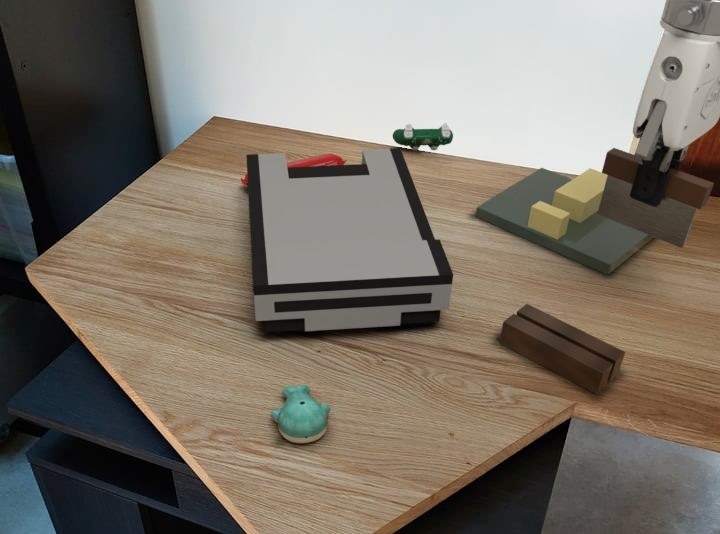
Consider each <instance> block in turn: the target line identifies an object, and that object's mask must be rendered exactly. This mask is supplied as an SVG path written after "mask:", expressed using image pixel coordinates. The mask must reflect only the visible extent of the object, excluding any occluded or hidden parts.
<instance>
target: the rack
mask: <svg viewBox="0 0 720 534" xmlns="http://www.w3.org/2000/svg"><path fill="white" fill-rule="evenodd" d="M501 327H502V328H501V332H500V337H499V342H498V343H499V344H500V345H503V346H504V347H506V348H508V349H510V350H512V351H513V352H515V353H517V354H519V355H521V356H523V357H524V358H527V359H528V360H530V361H532V362H534V363H535V364H538V365H540V366H541V367H544V368H545V369H547V370H549V371H550V372H553V373H554V374H557V375H559V376H561V377H562V378H564V379H566V380H568V381H570V382H572V383H573V384H575V385H577V386H579V387H581V388H583V389H585V390H586V391H589V392H590V393H592V394H594V395H597V394H598V393H600V392H602V391H601V390H603V389H604V388H605V387H606V386H607V383H610V382H611V381H612V380H613V379H615V377H616V376H617V375H618V374H619V372H620V369H621V366H622V365H623V361H624V358H625V355H626V351H625V350H622V349H620V348H619V347H616V346H614V345H612V344H610V343H608V342H606V341H604V340H602V339H600V338H598V337H596V336H594V335H591V334H590V333H588V332H586V331H583V330H581V329H579V328H577V327H576V326H573V325H571V324H569V323H567V322H566V321H563V320H561V319H559V318H557V317H555V316H553V315H551V314H549V313H547V312H545V311H543V310H541V309H539V308H537V307H535V306H532V305H531V304H528V303H526V304H525V305H523V306H522V307H520V308H519V309H518V310H517V311H516V314H515V313H513V314H511V315H510V316H509V317H508V318H506V319H505V320H503V322H502V326H501Z"/></svg>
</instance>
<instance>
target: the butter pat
mask: <svg viewBox="0 0 720 534" xmlns="http://www.w3.org/2000/svg"><path fill="white" fill-rule="evenodd" d="M569 217H570V213H568V212H566V211H564V210H561V209H559V208H556V207H554V206H551V205H549V204H546V203H544V202H542V201H539V202H537V203H536V204H534V205H533V206H531V211H530V216H529V221H528V226H527V227H529V228H531V229H534V230H536V231H538V232H541V233H543V234H545V235H548V236H550V237H552V238H554V239H557V240H558V239H559V238H560V237H562V236H563V235H565V234H566V230H567V225H568V221H569Z"/></svg>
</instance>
